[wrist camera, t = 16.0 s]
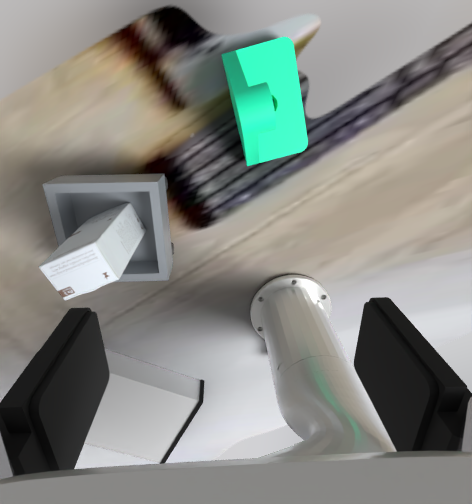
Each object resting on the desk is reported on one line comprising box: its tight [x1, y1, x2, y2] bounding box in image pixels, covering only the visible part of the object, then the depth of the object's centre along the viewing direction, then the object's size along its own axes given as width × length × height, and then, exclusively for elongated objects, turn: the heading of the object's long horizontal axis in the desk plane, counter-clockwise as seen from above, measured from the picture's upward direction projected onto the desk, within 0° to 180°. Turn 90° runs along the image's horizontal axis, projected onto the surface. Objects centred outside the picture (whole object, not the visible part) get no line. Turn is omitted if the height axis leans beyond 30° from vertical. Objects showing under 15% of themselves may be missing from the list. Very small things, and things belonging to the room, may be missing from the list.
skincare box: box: [39, 203, 146, 300], centre depth 35 cm, size 6×4×12 cm
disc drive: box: [84, 349, 204, 464], centre depth 55 cm, size 18×22×5 cm
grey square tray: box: [43, 174, 174, 282], centre depth 40 cm, size 12×12×8 cm
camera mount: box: [222, 37, 308, 166], centre depth 34 cm, size 12×8×10 cm, turn 14°
